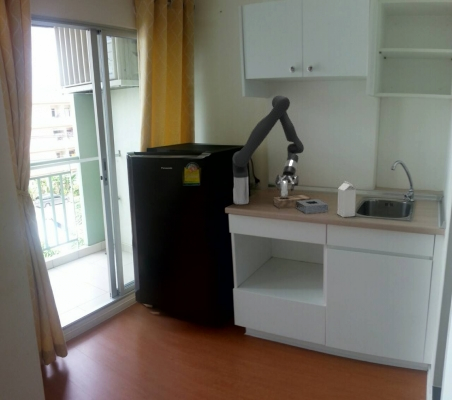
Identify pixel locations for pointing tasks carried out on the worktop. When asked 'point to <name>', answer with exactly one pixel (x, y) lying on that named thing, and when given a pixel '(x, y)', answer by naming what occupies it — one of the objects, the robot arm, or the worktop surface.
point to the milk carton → (346, 200)
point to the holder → (312, 206)
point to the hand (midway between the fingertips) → (284, 190)
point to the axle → (284, 189)
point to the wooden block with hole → (289, 201)
